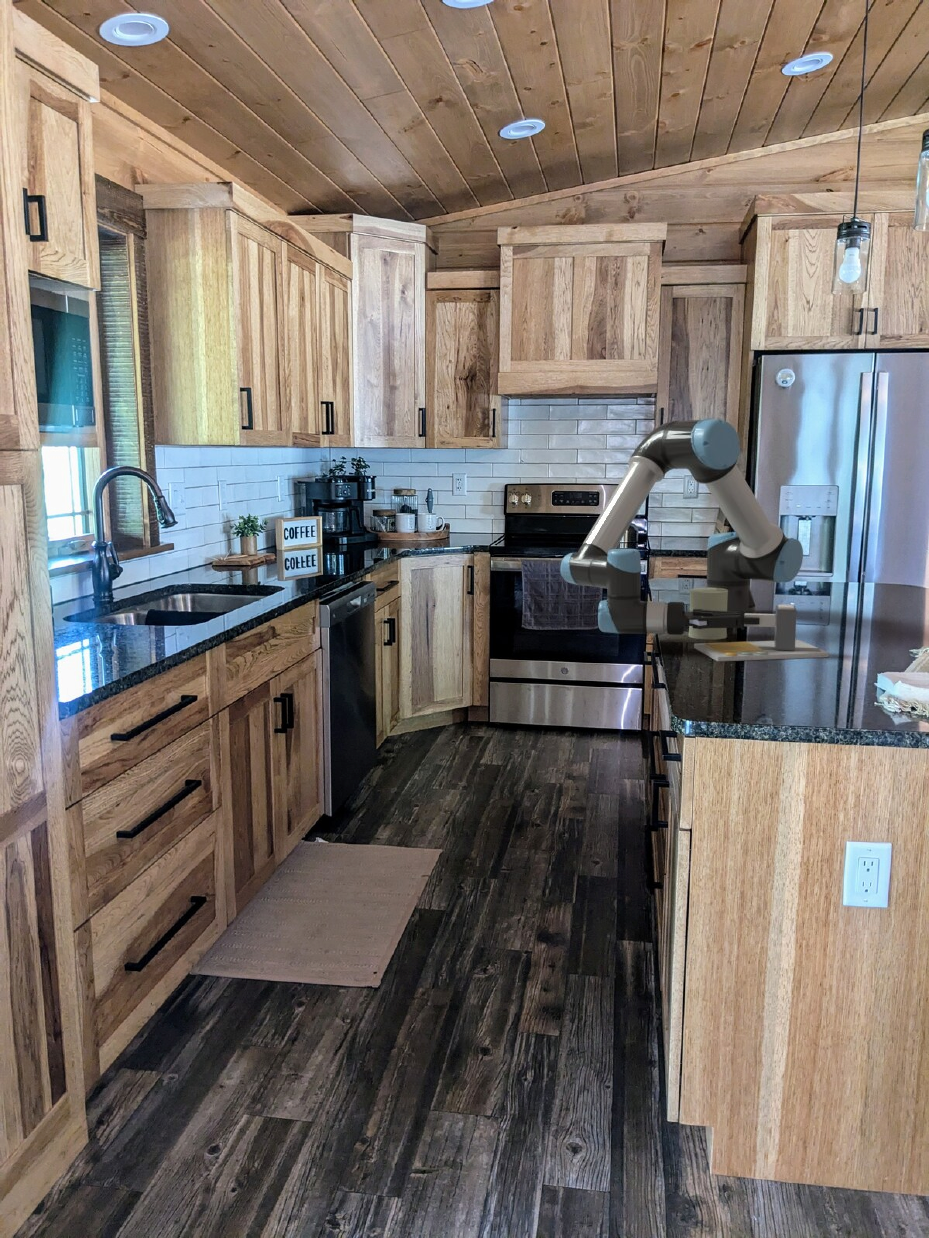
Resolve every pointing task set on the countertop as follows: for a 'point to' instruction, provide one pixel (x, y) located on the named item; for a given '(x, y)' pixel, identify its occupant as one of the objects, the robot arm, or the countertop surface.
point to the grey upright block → (785, 627)
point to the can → (708, 601)
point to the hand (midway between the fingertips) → (774, 620)
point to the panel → (758, 651)
